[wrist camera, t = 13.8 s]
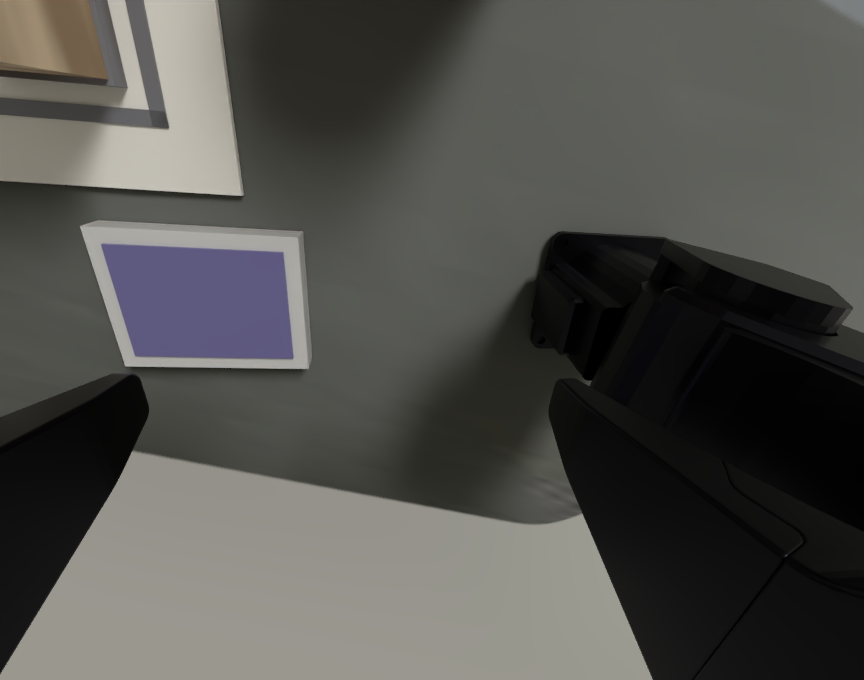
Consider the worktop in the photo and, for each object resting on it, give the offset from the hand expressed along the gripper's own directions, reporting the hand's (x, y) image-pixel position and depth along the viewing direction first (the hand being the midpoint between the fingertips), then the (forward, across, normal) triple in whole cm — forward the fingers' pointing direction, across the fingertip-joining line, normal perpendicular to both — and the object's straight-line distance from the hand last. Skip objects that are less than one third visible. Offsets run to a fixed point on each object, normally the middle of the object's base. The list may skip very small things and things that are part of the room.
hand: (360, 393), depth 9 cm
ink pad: (+12, +8, +3) cm, 15 cm away
